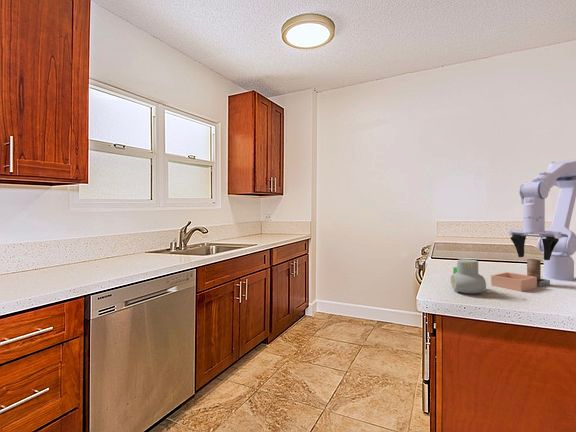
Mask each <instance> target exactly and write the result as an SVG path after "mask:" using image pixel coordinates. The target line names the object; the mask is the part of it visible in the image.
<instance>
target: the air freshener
mask: <svg viewBox="0 0 576 432" xmlns="http://www.w3.org/2000/svg"><path fill="white" fill-rule="evenodd" d="M456 267H457V273H454V274H453V273H452V274H451V276H450V285H451V287H452V289H453V290H454V291H456V292H457V291H458V292H457V293H460V294H466V295H467V294H468V295H475V294H477V295H478V294H479V293H480V294H481V293H482V292H484V291H485V290H487V289H486V288H487V281H486V278H484V276H483V275H481V274H480V273H479V261H478V260H476V259H467V258H466V259H465V258H461V259H457V261H456Z"/></svg>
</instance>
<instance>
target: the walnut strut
mask: <svg viewBox="0 0 576 432" xmlns="http://www.w3.org/2000/svg"><path fill="white" fill-rule="evenodd" d="M541 262H542V261H541V259H534V258H532V259H531V258H529V259H526V267H527V268H526V275H527V276H534V277H537V282H540V281H541V279H542V278H541V276H542V275H541V273H542V271H541V269H542V268H541Z"/></svg>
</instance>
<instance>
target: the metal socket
mask: <svg viewBox="0 0 576 432" xmlns="http://www.w3.org/2000/svg"><path fill="white" fill-rule="evenodd" d="M550 285H551V279H546V278H541V281H540V282H537V288H542V287H546V286H550Z"/></svg>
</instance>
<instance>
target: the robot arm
mask: <svg viewBox="0 0 576 432" xmlns="http://www.w3.org/2000/svg"><path fill="white" fill-rule="evenodd" d="M554 186H556V187H557V188H559V192H558V197H557V200H556V205H555V208H554V212H553V213H554V214H553V218H552V222H551V225H550V226H549V227H548V228H546V227H545V226H546V224H545V223H546V220H545V219H546V217H545V216H546V210H545V209H546V203H545V201H546V199H547V198H548V197H549V193H550V192H551V189H552V188H553V187H554ZM518 195H519V197H520V202H521V205H522V206H523V208H522V210H523V211H522V218H523V219H522V223H523V225H522V226H523V227H522V229H509V230H508V236H510V240H511V242H512V243H513V245H514V248H515V250H516V252H517V256H518V258H524V257H525V244H526V239H527V237H534V238H535V237H536V238H538V239H537V243H536V246H537V249H538V250H539V252H540V253H541V254H542V255H543V275H541V279H547V280H551V281H552V280H553V281H559V282H568V281H572V280H576V277H575V261H574V259H573V257H572V256H573V255H574V254H575V253H576V233H575V232H573V230H571V229H570V225H571V220H572V216H573V211H574V207H575V202H576V159H569V160H559V161H551V162H550V163H548V166H547V171H541V172H539V173H538V175H536V176H535V177H534V178H532V180H530V181H529V182H527V181H526V182H524V183H522V184H521V185H520V187H519V190H518Z"/></svg>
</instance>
